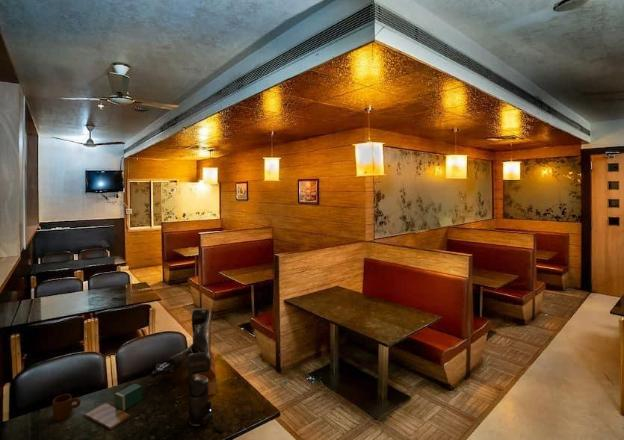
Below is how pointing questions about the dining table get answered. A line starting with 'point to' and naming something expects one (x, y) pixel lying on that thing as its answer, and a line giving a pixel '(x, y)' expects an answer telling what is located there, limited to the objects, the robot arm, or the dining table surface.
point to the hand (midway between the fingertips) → (151, 375)
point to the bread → (211, 376)
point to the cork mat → (107, 415)
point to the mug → (64, 406)
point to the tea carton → (128, 397)
